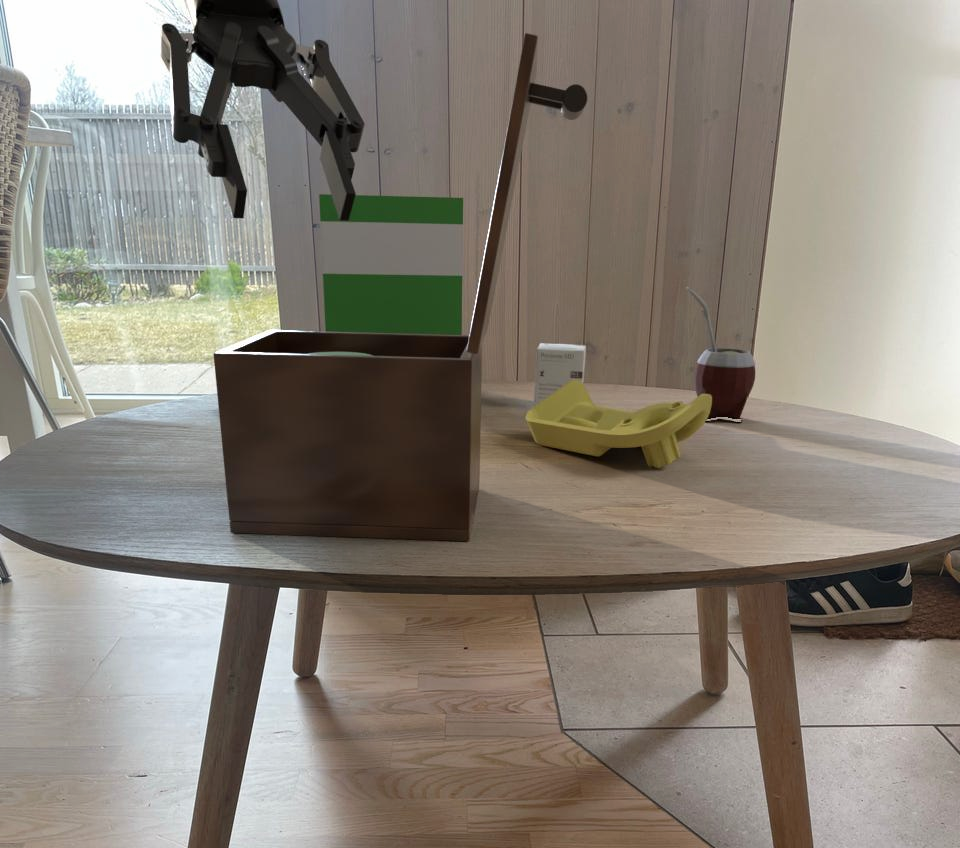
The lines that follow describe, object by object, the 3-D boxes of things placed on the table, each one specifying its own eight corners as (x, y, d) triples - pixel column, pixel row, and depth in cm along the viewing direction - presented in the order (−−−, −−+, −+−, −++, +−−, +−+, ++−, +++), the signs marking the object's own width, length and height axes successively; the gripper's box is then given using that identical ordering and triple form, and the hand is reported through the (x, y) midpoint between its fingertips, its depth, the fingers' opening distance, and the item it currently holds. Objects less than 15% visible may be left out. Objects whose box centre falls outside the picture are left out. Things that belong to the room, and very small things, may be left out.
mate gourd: (759, 420, 113) (779, 288, 106) (722, 427, 108) (740, 290, 102) (708, 410, 118) (724, 284, 111) (670, 417, 113) (684, 286, 107)
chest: (230, 533, 69) (212, 353, 63) (279, 481, 82) (268, 329, 77) (469, 541, 68) (472, 360, 63) (479, 488, 81) (482, 335, 76)
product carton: (533, 408, 116) (535, 347, 113) (536, 400, 122) (539, 342, 119) (581, 410, 116) (585, 349, 113) (582, 402, 121) (586, 343, 118)
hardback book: (328, 395, 122) (319, 194, 112) (330, 386, 129) (321, 195, 119) (460, 395, 124) (463, 197, 114) (456, 386, 131) (457, 198, 121)
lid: (525, 32, 55) (600, 49, 55) (526, 69, 68) (586, 83, 68) (466, 352, 62) (532, 366, 63) (477, 328, 76) (532, 340, 76)
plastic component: (516, 419, 97) (583, 370, 101) (540, 478, 101) (604, 429, 105) (646, 441, 82) (720, 383, 85) (668, 509, 86) (739, 452, 89)
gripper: (337, 48, 85) (406, 243, 79) (100, 25, 77) (155, 240, 71) (354, -33, 79) (431, 172, 73) (97, -69, 70) (158, 159, 64)
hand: (295, 205), depth 72 cm, fingers open, 8 cm apart
